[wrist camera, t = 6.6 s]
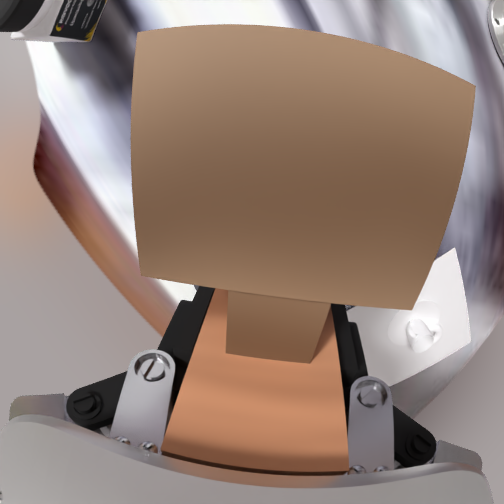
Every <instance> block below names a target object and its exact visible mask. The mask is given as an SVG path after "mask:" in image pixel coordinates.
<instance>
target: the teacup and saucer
mask: <svg viewBox="0 0 504 504" xmlns="http://www.w3.org/2000/svg"><path fill="white" fill-rule="evenodd" d="M441 317H442V310H441V307H440V305H439V304H438V303H437V302H436V301H434V300H432V299H418V300H417V301H416V303H415V305H414V307H413V309H412V310H398V311H397V312H396V313H395V314H394V315H393V317H392V318H391V319H390V321H389V323H388V325H387V328H386V337H387V339H388V341H389V342H390V343H391V344H392V345H394V346H397V347H410V349H411V351H412V352H413V353H414V354H421V353H424V352H426V351H427V350H429V349H430V348H431V347H432V346H434V345H436V344H437V343H438V342H439V341H440V340H441V339H442V337H443V335H444V329H443V327H442V326H441V325H440V324H439V323H440V321H441Z"/></svg>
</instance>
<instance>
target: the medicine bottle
mask: <svg viewBox="0 0 504 504" xmlns="http://www.w3.org/2000/svg"><path fill="white" fill-rule="evenodd" d="M107 1H108V0H0V32H12V35H11V40H26V41H43V42H90V41H91V40H92V37H93V34H94V32H95V29H96V27H97V24H98V22H99V19H100V17H101V14H102V12H103V10H104V7H105V5H106V3H107Z"/></svg>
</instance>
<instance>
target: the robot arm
mask: <svg viewBox="0 0 504 504" xmlns="http://www.w3.org/2000/svg"><path fill="white" fill-rule="evenodd" d="M488 24H489V29H490V33H491V36H492V39H493V42H494V44H495V47H496V50H497V52H498V54H499V56H500V58H501V60H502V62H503V63H504V0H493V1H492V2H491V3H490V5H489V7H488ZM215 289H216V288H211V287H205V286H199V287H198V290H197V292H196V294H195V296H194V299H193V301H186V300H181V301H180V303H179V305H178V307H177V309H176V311H175V313H174V315H173V317H172V319H171V321H170V324H169V326H168V328H167V330H166V332H165V334H164V336H163V338H162V341H161V343H160V345H159V347H158V349H157V350H146V351H142V352H140V353H139V354H137V355H136V356H135V357H134V358H133V359H132V361H131V363H130V365H129V368H128V371H126V372H124V373H121V374H118V375H115V376H113V377H110V378H107V379H105V380H102V381H99V382H96V383H93V384H91V385H88V386H85V387H82V388H79V389H77V390H75V391H74V392H73V393H72V394H71V395H70V396H65V395H64V394H51V395H29V396H20V397H18V398H16V399H15V400H14V401H13V403H12V404H11V407H10V418H9V422H8V423H7V424H6V425H5V426H4V427H3V429H2V430H1V432H0V504H494V502H493V498H492V493H491V489H490V486H489V483H488V481H487V479H486V476H485V475H484V474H483V472H482V471H481V469H482V461H481V457H480V456H479V455H478V454H477V453H476V452H474V451H471V450H468V449H465V448H462V447H459V446H456V445H453V444H451V443H448V442H445V441H442V440H439V441H438V442H437V441H436V440H435V438H434V436H433V435H432V434H431V433H430V432H429V431H428V430H426V429H425V428H424V427H422V426H421V425H420V424H418V423H417V422H415V421H414V420H413V419H411V418H410V417H409V416H407V415H406V414H404V413H403V412H402V411H400V410H399V409H398V408H396V407H395V406H394V405H393V404H392V394H391V390H390V388H389V387H388V385H387V384H386V383H385V382H384V381H382V380H380V379H379V378H376V377H372V376H368V371H367V366H366V361H365V357H364V352H363V348H362V343H361V339H360V335H359V330H358V326H357V324H356V323H355V322H349V321H348V316H347V312H346V308H345V305H344V304H334V303H331V310H332V316H333V322H334V328H335V335H336V342H337V348H338V356H339V363H340V371H341V379H342V387H343V396H344V405H345V416H346V427H347V439H348V454H349V471H348V472H347V473H345V474H344V475H336V476H289V475H272V474H260V473H251V472H242V471H235V470H228V469H222V468H216V467H211V466H205V465H200V464H196V463H191V462H187V461H182V460H178V459H174V458H171V457H167V456H163V454H162V452H161V451H160V449H161V446H162V443H163V439H164V436H165V433H166V430H167V427H168V424H169V421H170V418H171V415H172V412H173V409H174V406H175V403H176V400H177V397H178V394H179V391H180V388H181V385H182V382H183V379H184V376H185V373H186V371H187V368H188V365H189V362H190V359H191V356H192V353H193V350H194V347H195V345H196V342H197V339H198V336H199V333H200V330H201V328H202V325H203V322H204V319H205V316H206V314H207V311H208V308H209V305H210V302H211V300H212V297H213V294H214V291H215Z"/></svg>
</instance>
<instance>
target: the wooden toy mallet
mask: <svg viewBox="0 0 504 504" xmlns="http://www.w3.org/2000/svg"><path fill="white" fill-rule="evenodd" d="M475 87H476V86H475V85H473V84H471V83H469V82H467V81H465V80H463V79H461V78H459V77H457V76H455V75H453V74H451V73H449V72H447V71H444V70H442V69H440V68H438V67H435V66H433V65H431V64H428V63H426V62H423V61H421V60H418V59H416V58H413V57H410V56H408V55H405V54H402V53H399V52H396V51H393V50H390V49H387V48H384V47H380V46H377V45H373V44H370V43H366V42H362V41H359V40H354V39H350V38H346V37H341V36H337V35H332V34H327V33H321V32H315V31H309V30H302V29H294V28H286V27H275V26H262V25H234V24H224V25H196V26H182V27H172V28H164V29H156V30H149V31H143V32H138V33H137V41H136V50H135V59H134V71H133V85H132V104H131V172H132V193H133V207H134V220H135V230H136V240H137V249H138V257H139V265H140V272H141V276H145V277H151V278H157V279H162V280H168V281H174V282H180V283H186V284H192V285H198V286H205V287H211V288H216V289H215V291H214V294H213V297H212V300H211V302H210V305H209V308H208V311H207V314H206V316H205V319H204V322H203V325H202V328H201V330H200V333H199V336H198V339H197V342H196V345H195V347H194V350H193V353H192V356H191V359H190V362H189V365H188V368H187V371H186V373H185V376H184V379H183V382H182V385H181V388H180V391H179V394H178V397H177V400H176V403H175V406H174V409H173V412H172V415H171V418H170V421H169V424H168V427H167V430H166V433H165V436H164V439H163V443H162V446H161V449H160V451H161V452H162V454H163V456H167V457H171V458H174V459H178V460H182V461H187V462H191V463H196V464H200V465H205V466H211V467H216V468H222V469H228V470H235V471H242V472H251V473H260V474H272V475H289V476H336V475H344V474H345V473H347V472H348V471H349V454H348V439H347V427H346V416H345V405H344V396H343V387H342V379H341V371H340V363H339V356H338V348H337V342H336V335H335V328H334V322H333V316H332V310H331V303H334V304H344V305H354V306H364V307H375V308H387V309H399V310H412V309H413V307H414V305H415V303H416V301H417V299H418V297H419V295H420V292H421V290H422V288H423V286H424V284H425V281H426V279H427V277H428V274H429V272H430V270H431V267H432V265H433V262H434V260H435V257H436V255H437V252H438V249H439V247H440V244H441V241H442V239H443V236H444V233H445V230H446V227H447V224H448V221H449V218H450V215H451V212H452V208H453V205H454V202H455V198H456V194H457V191H458V187H459V183H460V179H461V175H462V171H463V167H464V162H465V158H466V153H467V148H468V142H469V136H470V130H471V124H472V117H473V108H474V99H475Z"/></svg>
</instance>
